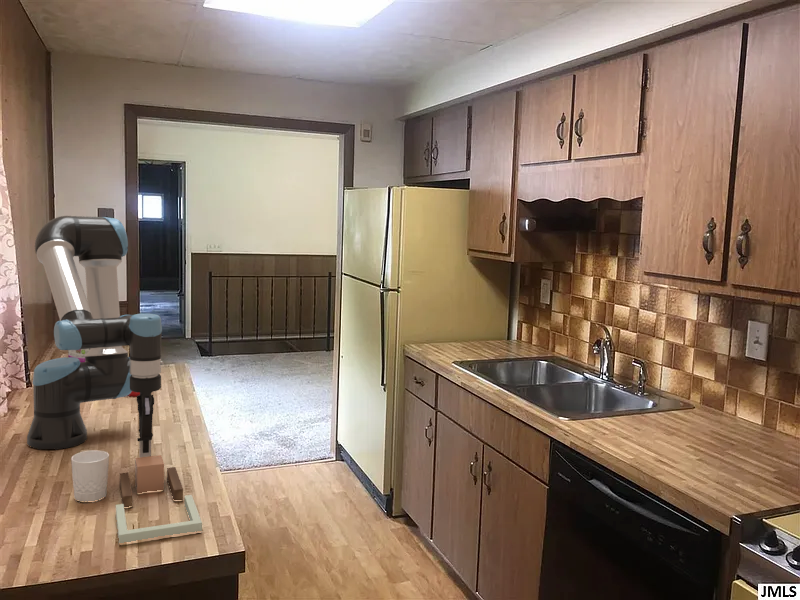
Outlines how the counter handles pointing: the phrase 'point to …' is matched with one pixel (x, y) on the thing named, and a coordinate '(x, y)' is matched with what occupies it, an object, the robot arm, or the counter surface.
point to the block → (149, 473)
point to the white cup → (90, 475)
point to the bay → (160, 530)
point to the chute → (172, 480)
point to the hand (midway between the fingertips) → (145, 462)
